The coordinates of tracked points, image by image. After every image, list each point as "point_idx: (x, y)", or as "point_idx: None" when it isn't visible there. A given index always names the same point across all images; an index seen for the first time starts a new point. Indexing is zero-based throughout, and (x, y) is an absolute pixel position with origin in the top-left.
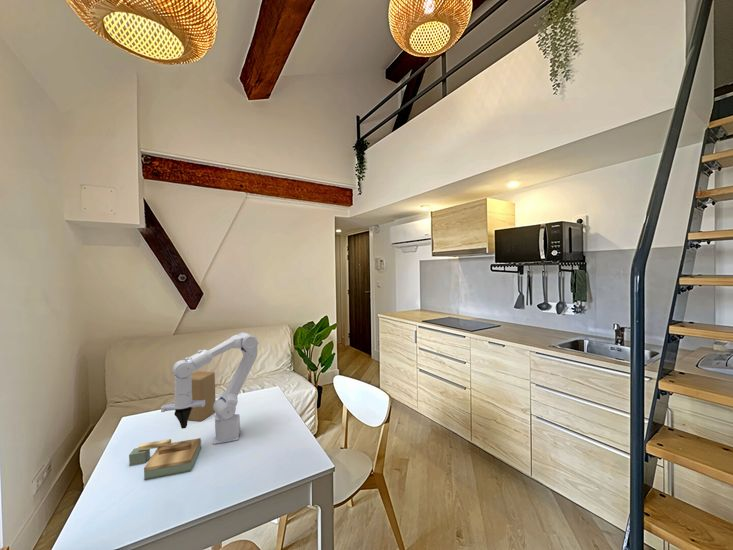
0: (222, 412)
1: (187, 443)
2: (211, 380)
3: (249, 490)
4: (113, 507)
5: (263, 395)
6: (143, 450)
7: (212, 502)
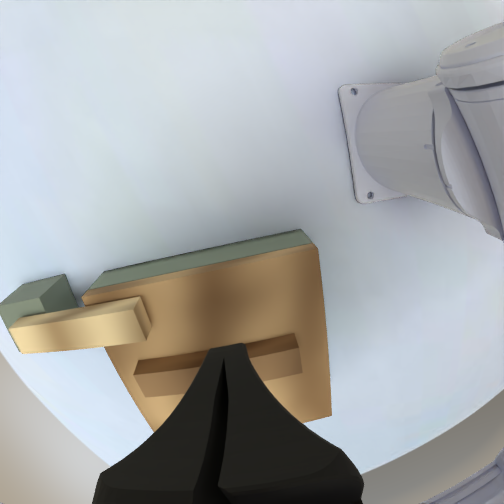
0: None
1: (279, 357)
2: None
3: (461, 411)
4: None
5: None
6: None
7: (398, 447)
